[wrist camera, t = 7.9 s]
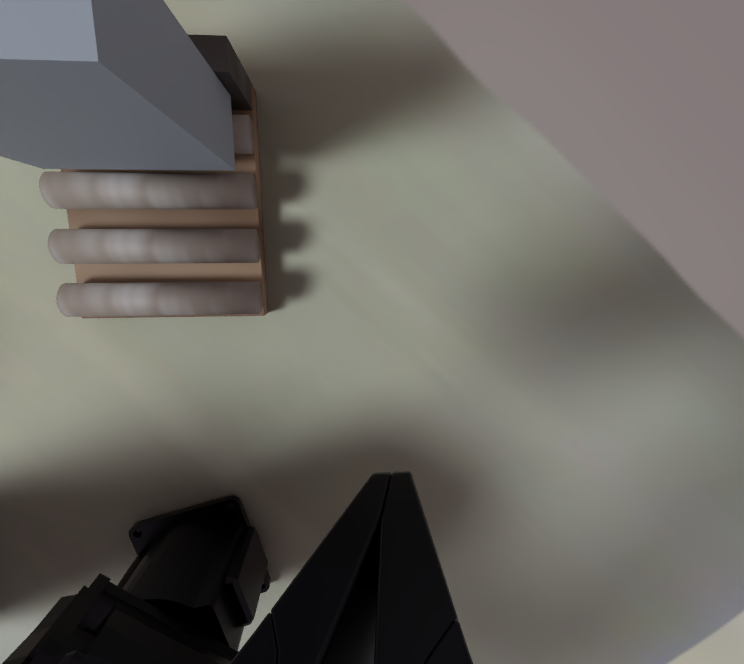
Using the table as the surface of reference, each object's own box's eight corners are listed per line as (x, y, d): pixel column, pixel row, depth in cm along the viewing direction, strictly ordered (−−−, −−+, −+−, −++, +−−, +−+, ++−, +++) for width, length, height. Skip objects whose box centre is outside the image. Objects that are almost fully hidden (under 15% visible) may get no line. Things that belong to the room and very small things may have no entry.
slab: (235, 170, 18) (98, 61, 8) (43, 168, 17) (-363, 49, 7) (230, 96, 17) (76, -123, 7) (32, 91, 16) (-425, -151, 7)
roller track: (267, 312, 22) (245, 329, 17) (94, 315, 21) (18, 332, 16) (255, 90, 20) (226, 36, 15) (63, 86, 19) (-34, 27, 14)
